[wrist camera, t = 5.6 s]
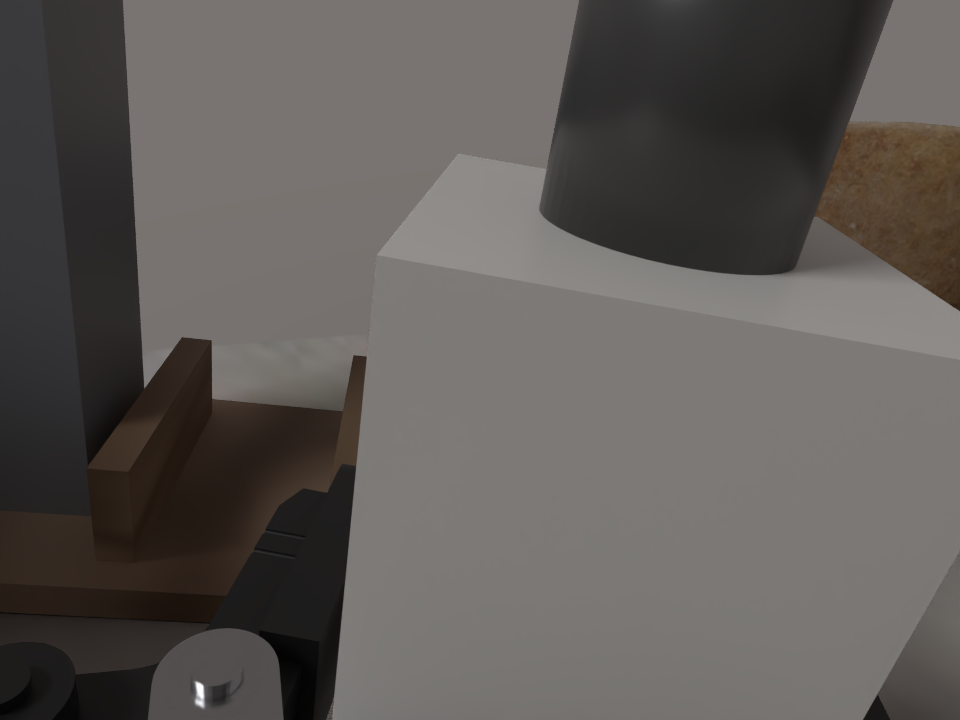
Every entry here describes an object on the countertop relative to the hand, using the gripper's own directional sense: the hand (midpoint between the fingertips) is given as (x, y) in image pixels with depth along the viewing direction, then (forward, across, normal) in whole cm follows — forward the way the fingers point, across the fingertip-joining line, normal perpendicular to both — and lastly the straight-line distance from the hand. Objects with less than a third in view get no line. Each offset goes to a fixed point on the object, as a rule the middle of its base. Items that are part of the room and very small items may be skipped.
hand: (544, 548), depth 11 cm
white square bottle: (-3, 0, +8) cm, 8 cm away
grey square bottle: (+8, +15, +7) cm, 18 cm away
